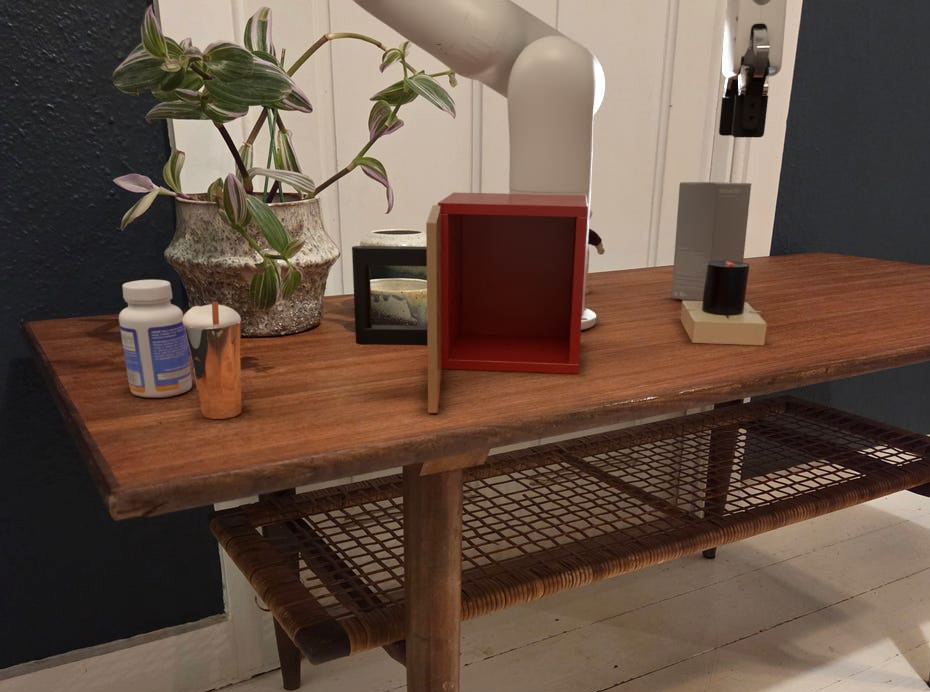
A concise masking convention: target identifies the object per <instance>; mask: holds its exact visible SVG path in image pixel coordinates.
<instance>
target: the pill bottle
mask: <svg viewBox="0 0 930 692" xmlns="http://www.w3.org/2000/svg"><path fill="white" fill-rule="evenodd" d="M121 288H122V299H124V302H125V303H127V307H125V308H123V309H121V311H120V312H119V315H118V323H119V331H120V336H121V343H122V349H123V356H124V360H125V361H124V362H125V369H126V377H127V381H128V388H129V390H130V392H131V394H132V395H133V396H137V397H140V398H145V399H147V398H148V399H149V398H150V399H163V398H169V397H170V398H171V397H175V396H179V395H182V394H184V393H187V392H188V391H190V390H191V389H192V387H193V381H192V373H191V365H190V355H189V348H188V344H187V339H186V335H185V330H184V326H183V322H182V319H183V316H184V313H183V310H182V309H181V308H180V307H179V306H177V305H175V304H172V302H171V300H172V299H173V290H172V285H171V282H170V281H168V280H164V279H140V280H139V279H138V280H133V281H128V282H125V283H123V284H122V287H121Z"/></svg>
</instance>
